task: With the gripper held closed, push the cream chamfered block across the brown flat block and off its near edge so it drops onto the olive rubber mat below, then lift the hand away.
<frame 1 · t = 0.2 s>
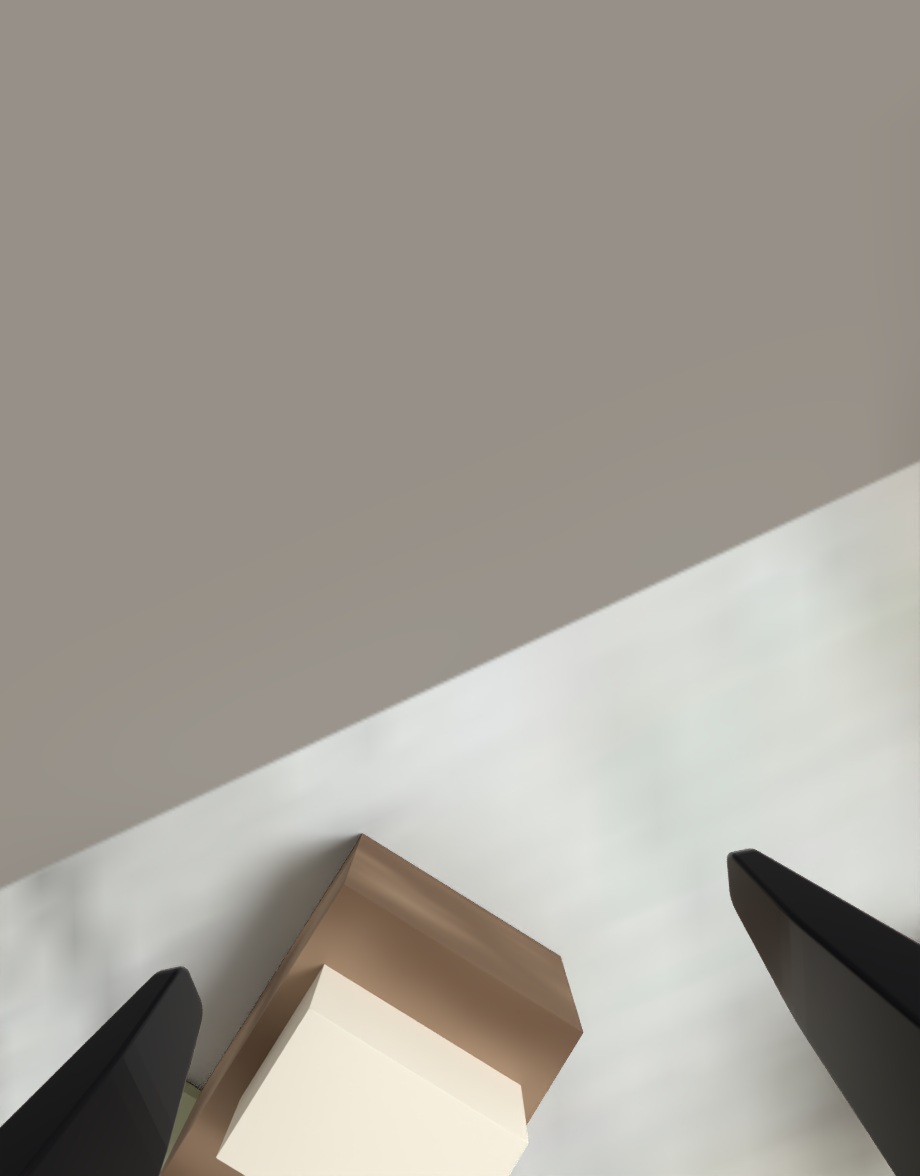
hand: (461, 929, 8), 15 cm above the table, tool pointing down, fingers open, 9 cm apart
brown flat block: (382, 1023, 23), on the table
cream chamfered block: (381, 1091, 19), point 4 cm above the table, touching brown flat block
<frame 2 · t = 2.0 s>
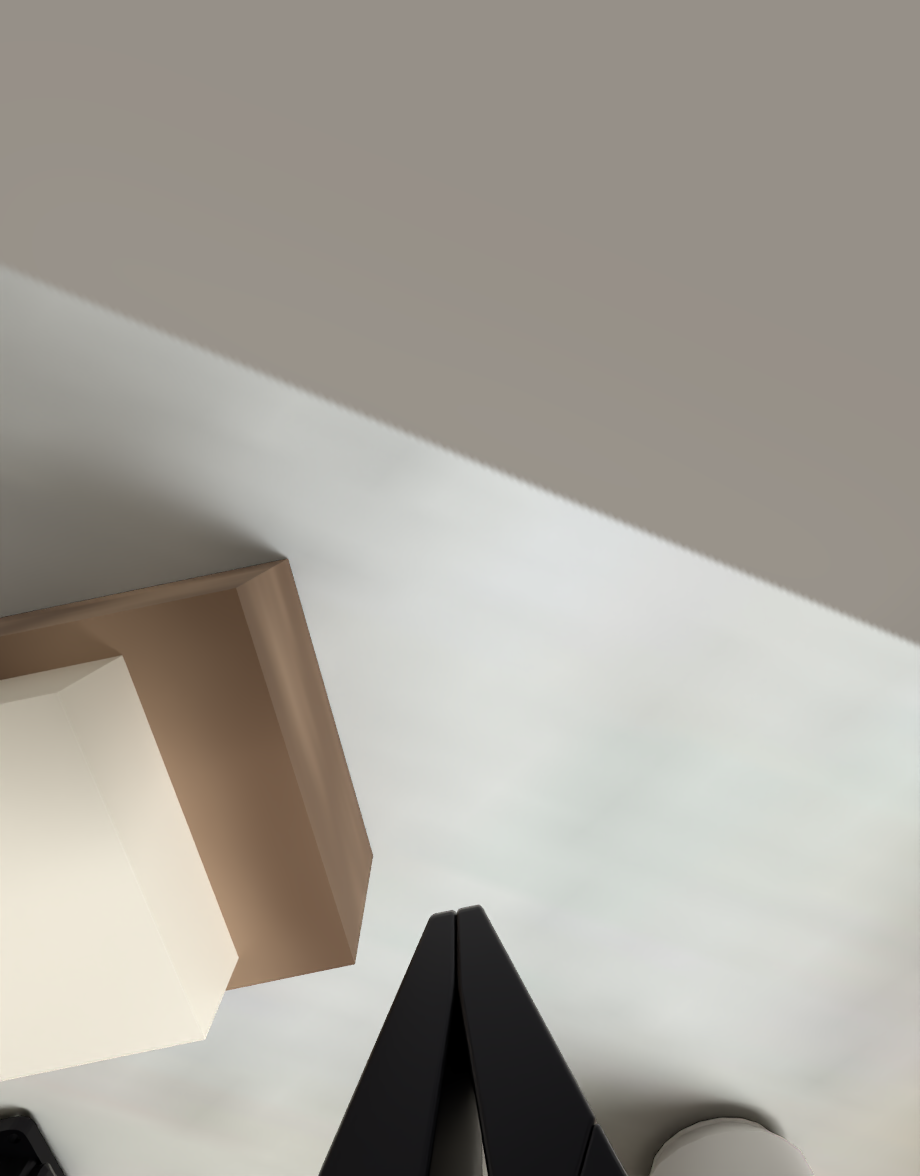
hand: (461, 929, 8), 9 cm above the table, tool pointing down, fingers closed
can: (712, 1158, 22), on the table
brown flat block: (127, 761, 16), on the table
cream chamfered block: (69, 842, 12), point 4 cm above the table, touching brown flat block
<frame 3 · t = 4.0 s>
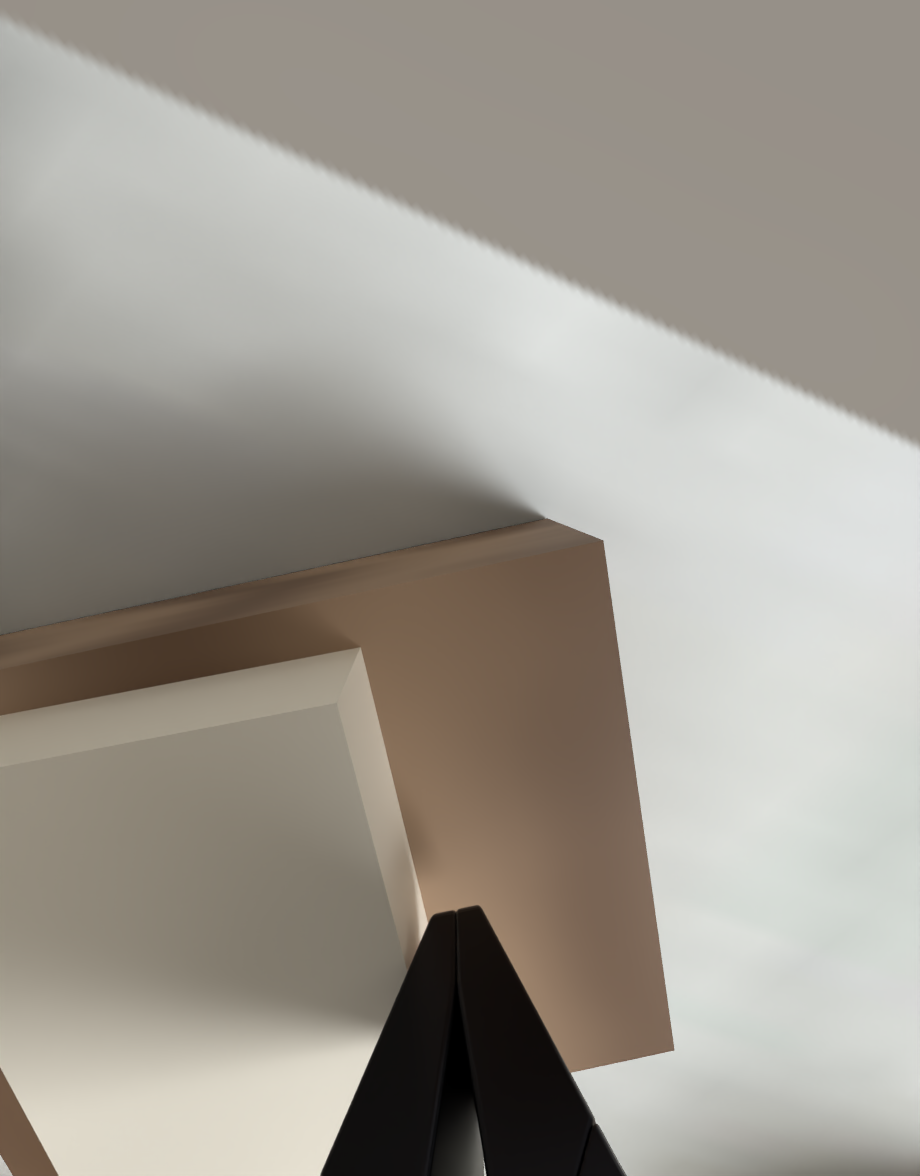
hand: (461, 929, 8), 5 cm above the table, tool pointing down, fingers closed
brown flat block: (321, 779, 13), on the table
cream chamfered block: (255, 905, 9), point 4 cm above the table, touching brown flat block, gripper
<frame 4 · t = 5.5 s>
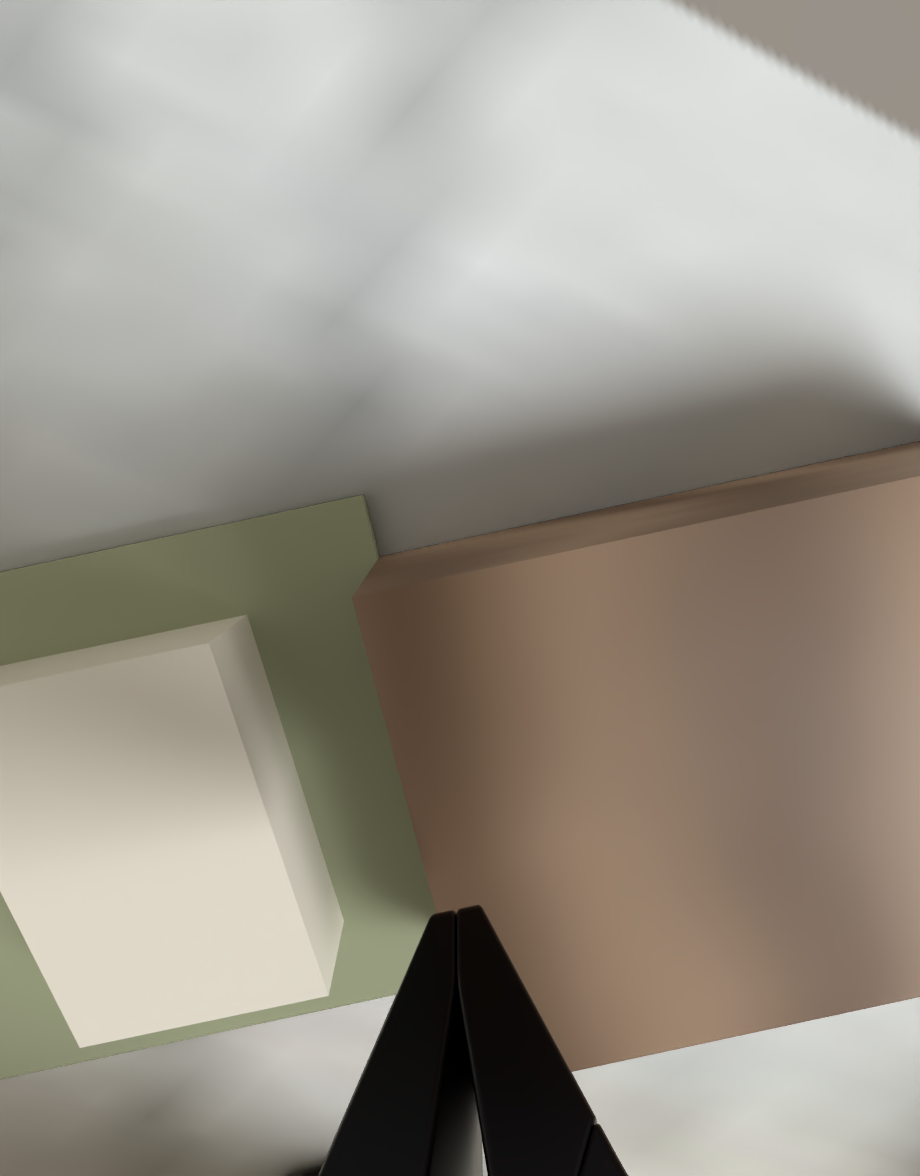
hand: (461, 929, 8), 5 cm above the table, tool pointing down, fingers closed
mat: (134, 820, 13), on the table
brown flat block: (687, 702, 13), on the table
cream chamfered block: (138, 865, 11), point 2 cm above the table, tilted 180°, touching mat
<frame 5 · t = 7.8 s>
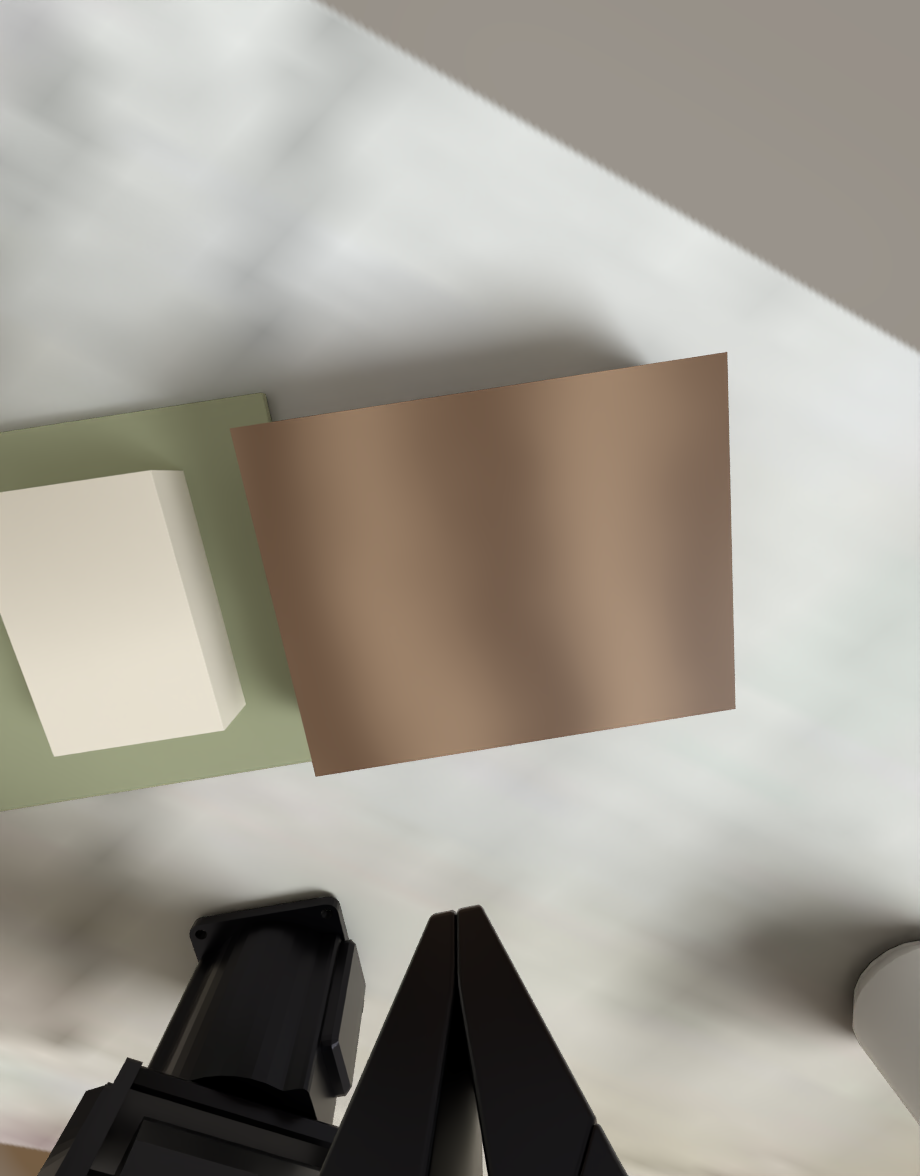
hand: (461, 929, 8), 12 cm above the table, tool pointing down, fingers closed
mat: (100, 620, 19), on the table
can: (906, 983, 25), on the table
brown flat block: (490, 559, 19), on the table
cream chamfered block: (99, 622, 16), point 2 cm above the table, tilted 180°, touching mat
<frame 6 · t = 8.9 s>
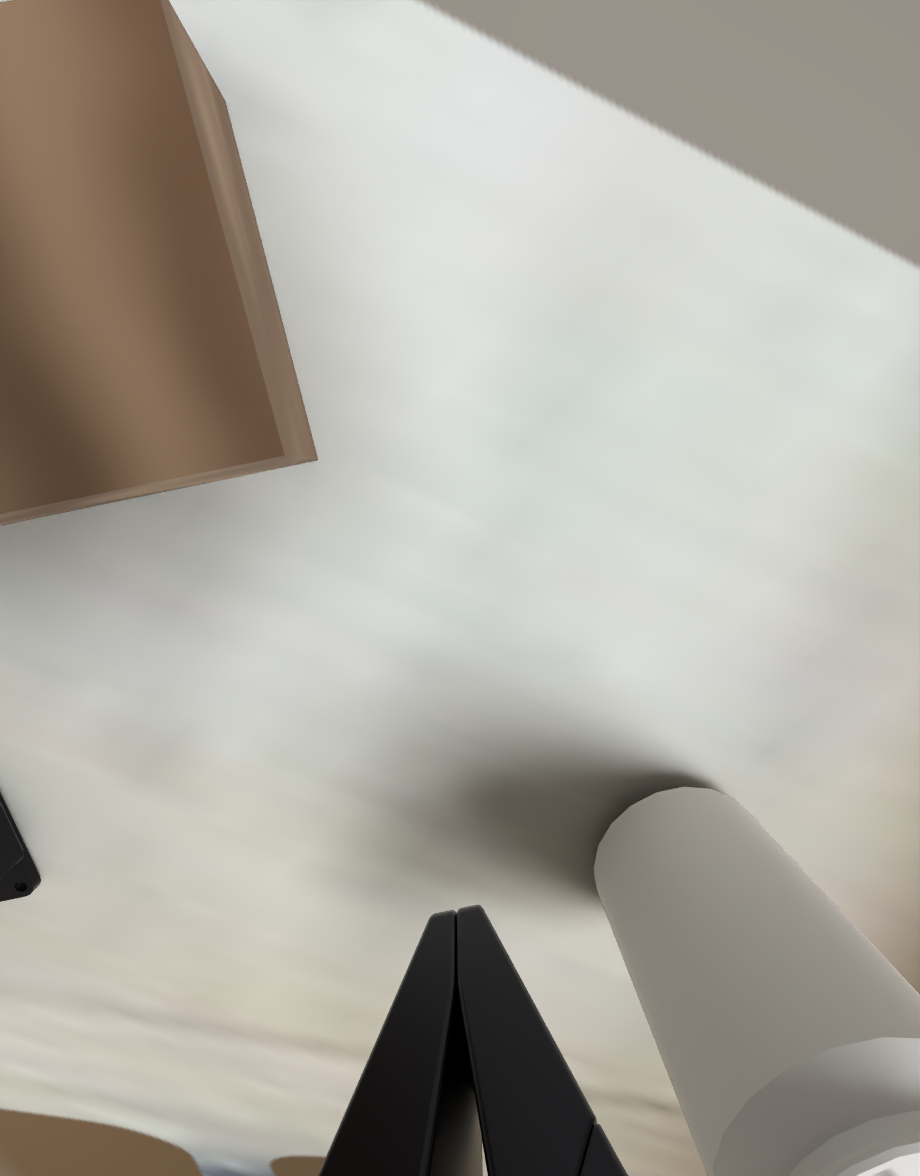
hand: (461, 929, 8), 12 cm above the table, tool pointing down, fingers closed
can: (667, 844, 22), on the table
brown flat block: (70, 335, 16), on the table
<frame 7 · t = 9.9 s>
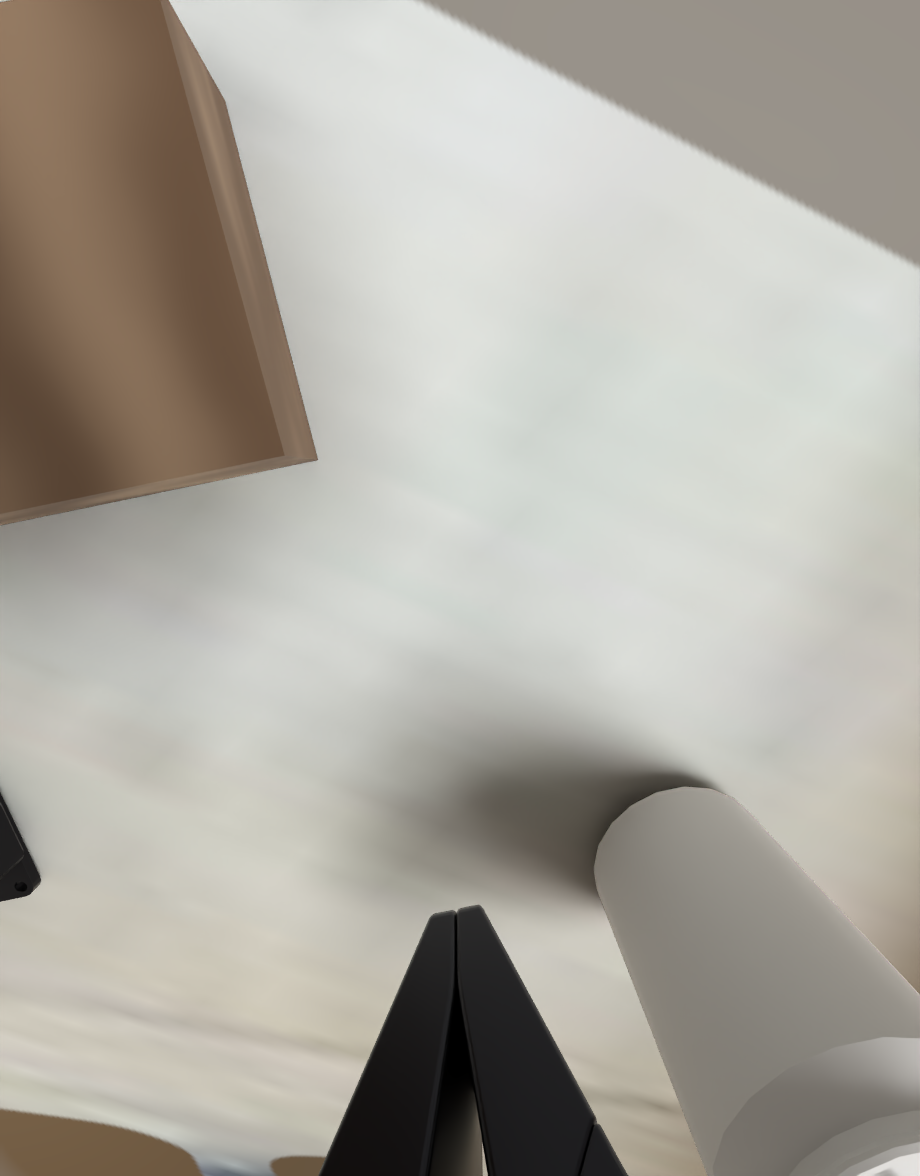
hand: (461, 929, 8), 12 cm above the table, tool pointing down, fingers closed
can: (667, 844, 22), on the table
brown flat block: (70, 335, 16), on the table
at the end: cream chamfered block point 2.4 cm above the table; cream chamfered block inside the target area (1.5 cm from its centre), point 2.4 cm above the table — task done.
